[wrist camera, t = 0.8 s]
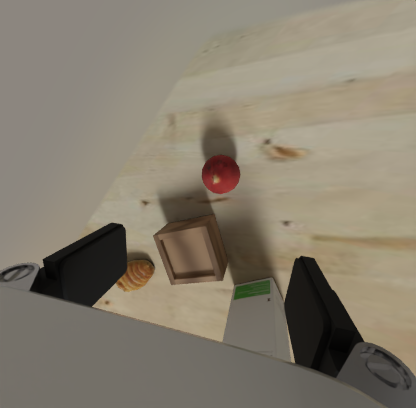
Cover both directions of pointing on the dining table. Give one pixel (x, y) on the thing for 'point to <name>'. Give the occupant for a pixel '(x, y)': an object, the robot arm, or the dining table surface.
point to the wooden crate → (192, 250)
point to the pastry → (136, 275)
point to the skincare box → (258, 319)
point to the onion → (220, 174)
